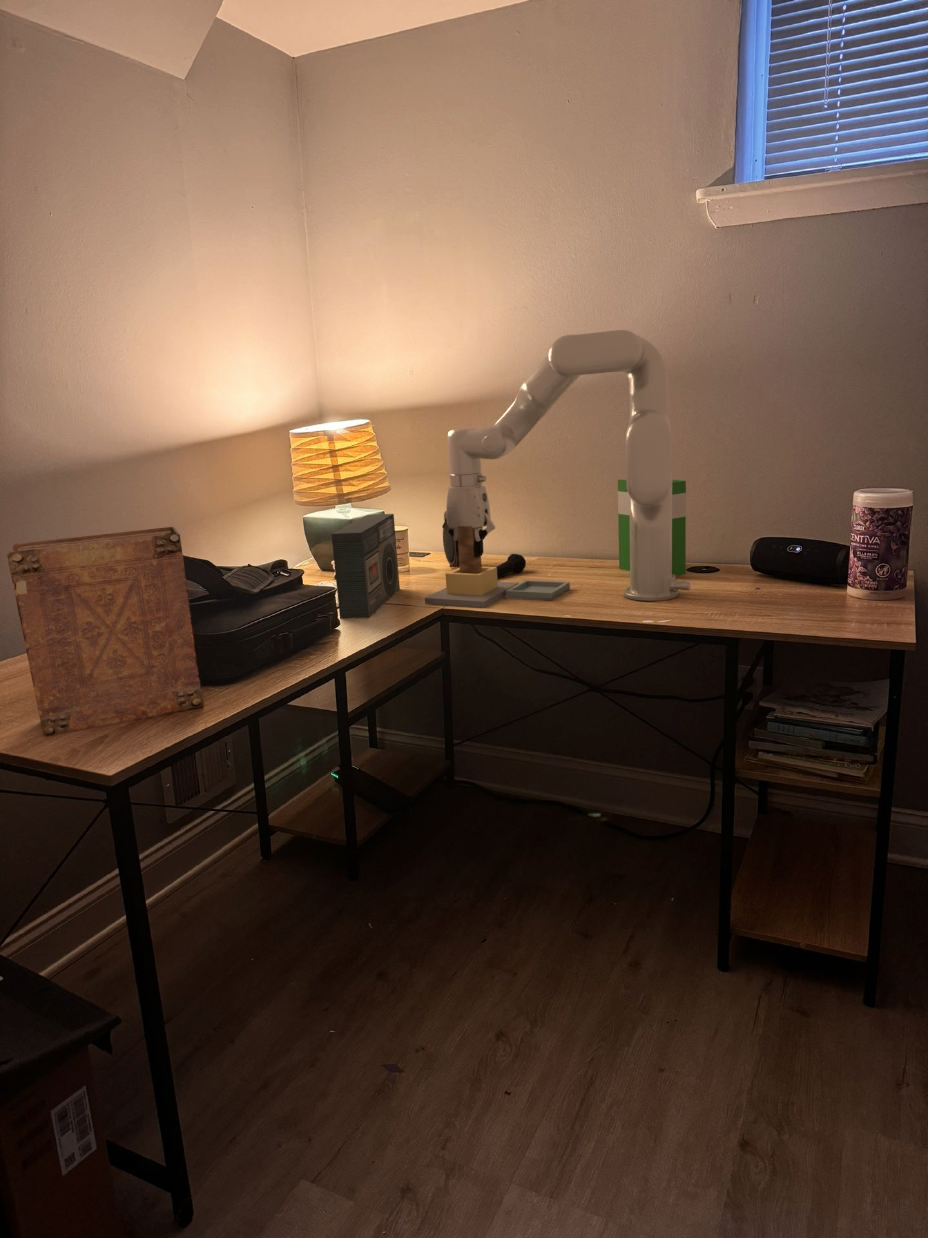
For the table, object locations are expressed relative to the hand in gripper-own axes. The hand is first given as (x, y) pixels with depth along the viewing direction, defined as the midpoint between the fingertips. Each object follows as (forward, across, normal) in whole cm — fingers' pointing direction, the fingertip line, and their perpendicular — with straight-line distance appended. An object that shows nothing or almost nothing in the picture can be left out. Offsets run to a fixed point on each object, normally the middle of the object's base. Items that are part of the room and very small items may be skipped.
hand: (470, 555), depth 211 cm
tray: (+10, -15, -6) cm, 19 cm away
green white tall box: (+10, -35, -36) cm, 51 cm away
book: (+11, +21, +90) cm, 93 cm away
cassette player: (+11, +22, +12) cm, 27 cm away
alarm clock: (+10, +18, -28) cm, 35 cm away
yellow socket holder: (+10, 0, 0) cm, 10 cm away
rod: (+5, 0, 0) cm, 5 cm away
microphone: (+11, +3, -22) cm, 24 cm away
